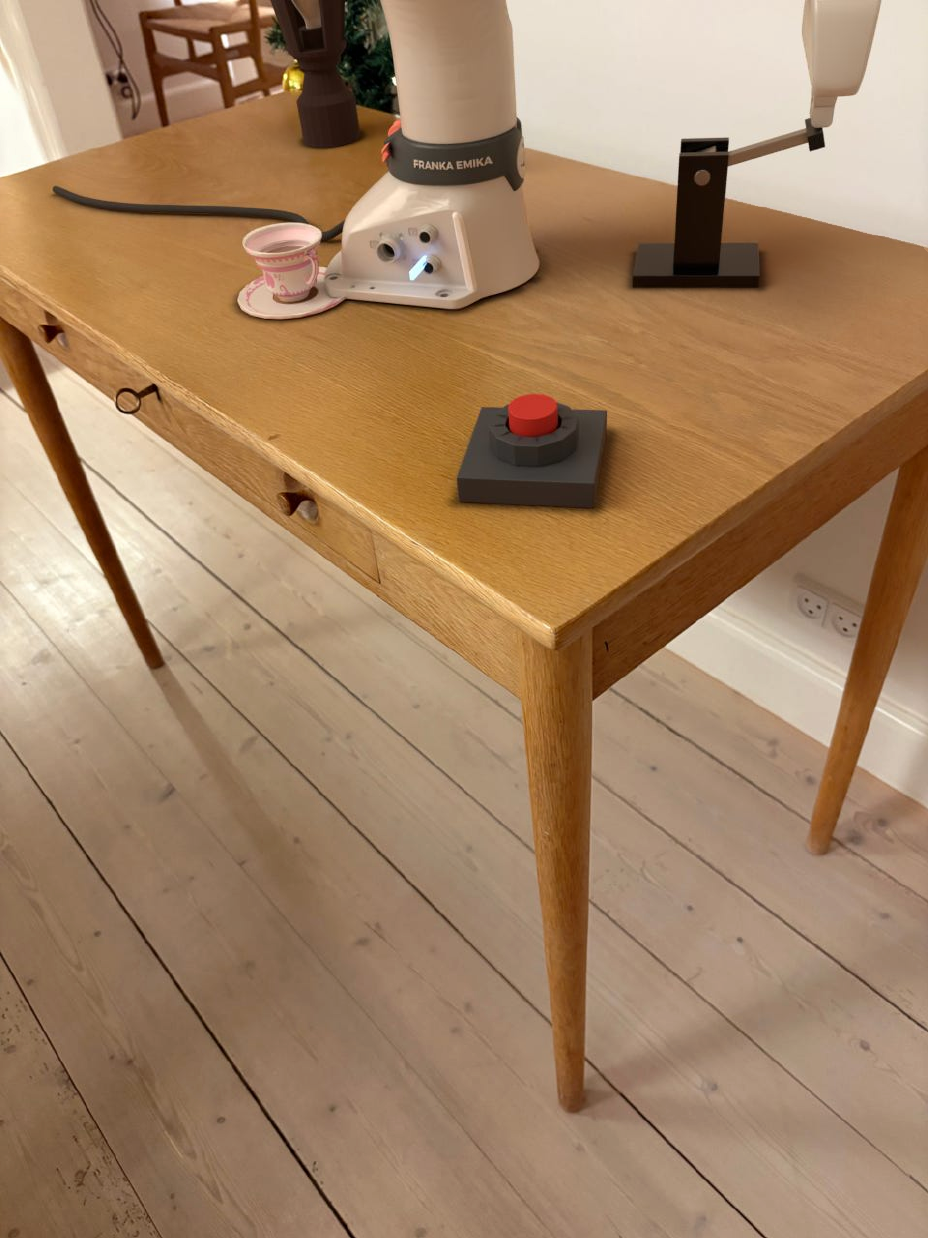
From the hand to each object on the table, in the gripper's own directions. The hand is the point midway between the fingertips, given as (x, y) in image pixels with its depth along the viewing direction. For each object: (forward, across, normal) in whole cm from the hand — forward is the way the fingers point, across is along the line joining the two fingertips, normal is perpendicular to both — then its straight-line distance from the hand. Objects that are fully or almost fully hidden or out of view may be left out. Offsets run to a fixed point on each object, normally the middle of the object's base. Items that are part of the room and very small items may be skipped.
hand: (820, 122), depth 90 cm
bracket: (+13, 0, -10) cm, 17 cm away
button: (+10, +36, -21) cm, 43 cm away
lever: (+3, 0, -5) cm, 6 cm away
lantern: (+13, -45, -62) cm, 78 cm away
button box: (+13, +36, -21) cm, 44 cm away
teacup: (+13, +6, -51) cm, 53 cm away
